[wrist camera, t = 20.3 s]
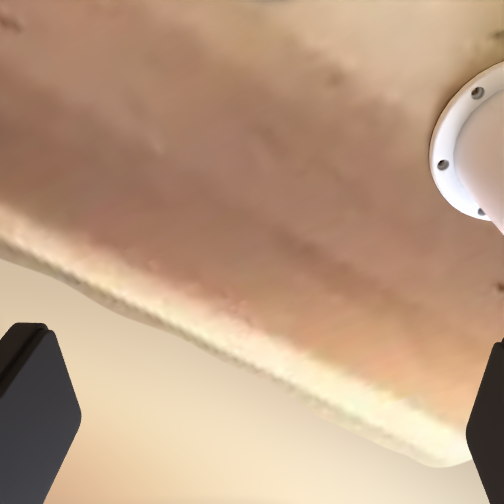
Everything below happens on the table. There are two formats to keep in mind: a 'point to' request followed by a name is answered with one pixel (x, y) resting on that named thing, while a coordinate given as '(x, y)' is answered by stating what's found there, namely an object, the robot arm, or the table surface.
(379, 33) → the table surface
